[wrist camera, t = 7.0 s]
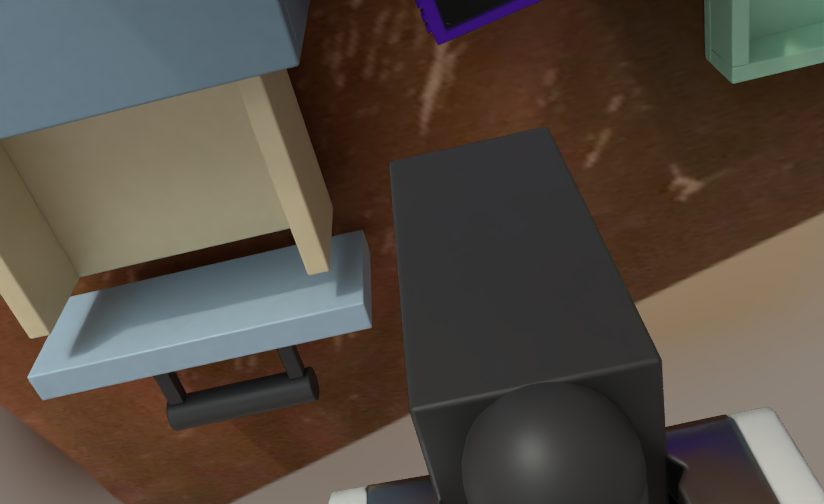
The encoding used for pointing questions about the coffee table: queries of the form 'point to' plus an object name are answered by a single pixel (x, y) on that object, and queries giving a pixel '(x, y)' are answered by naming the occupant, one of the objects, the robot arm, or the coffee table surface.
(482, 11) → the handheld gaming console
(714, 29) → the tray
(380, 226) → the coffee table surface
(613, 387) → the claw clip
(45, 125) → the cabinet
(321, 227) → the drawer
